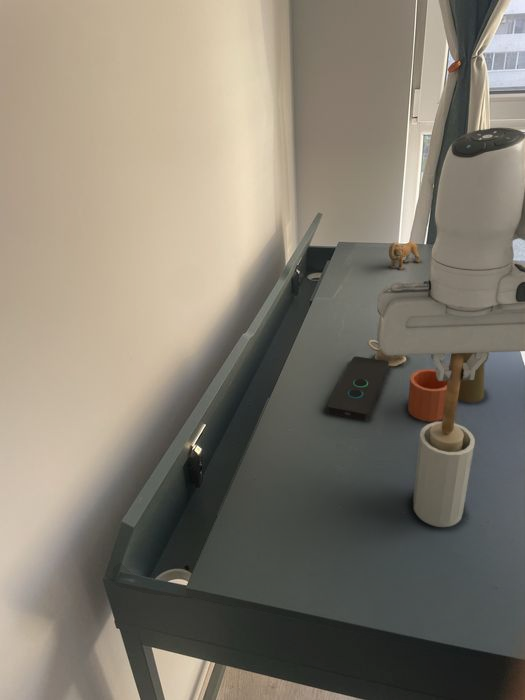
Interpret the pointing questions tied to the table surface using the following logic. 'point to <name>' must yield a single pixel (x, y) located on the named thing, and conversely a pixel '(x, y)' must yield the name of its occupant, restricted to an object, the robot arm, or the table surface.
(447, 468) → the white cylindrical cup
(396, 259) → the lion figurine
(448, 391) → the bottle brush
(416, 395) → the brush holder
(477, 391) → the olive pepper mill
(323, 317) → the table surface
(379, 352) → the decorative ornament
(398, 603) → the table surface
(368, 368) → the smart home device
